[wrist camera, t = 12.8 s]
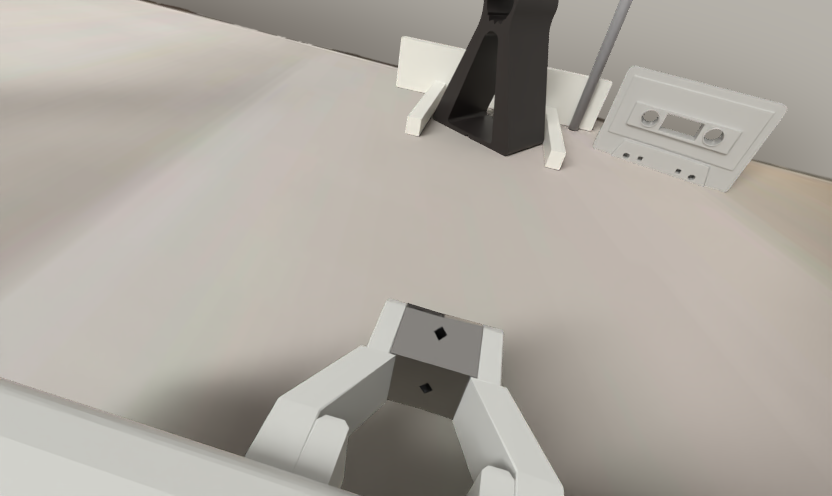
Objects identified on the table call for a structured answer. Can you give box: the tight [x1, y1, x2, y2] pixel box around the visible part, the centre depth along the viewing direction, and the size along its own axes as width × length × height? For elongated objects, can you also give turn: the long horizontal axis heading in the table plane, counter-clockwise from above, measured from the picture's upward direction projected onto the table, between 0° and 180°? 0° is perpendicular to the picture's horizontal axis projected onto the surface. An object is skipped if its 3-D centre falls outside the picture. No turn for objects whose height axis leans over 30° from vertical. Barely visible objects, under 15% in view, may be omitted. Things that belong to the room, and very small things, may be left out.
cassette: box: [593, 65, 787, 192], centre depth 34 cm, size 12×2×8 cm, turn 59°
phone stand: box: [433, 0, 558, 156], centre depth 33 cm, size 9×6×12 cm, turn 43°
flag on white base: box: [396, 0, 633, 170], centre depth 32 cm, size 25×14×20 cm, turn 77°
